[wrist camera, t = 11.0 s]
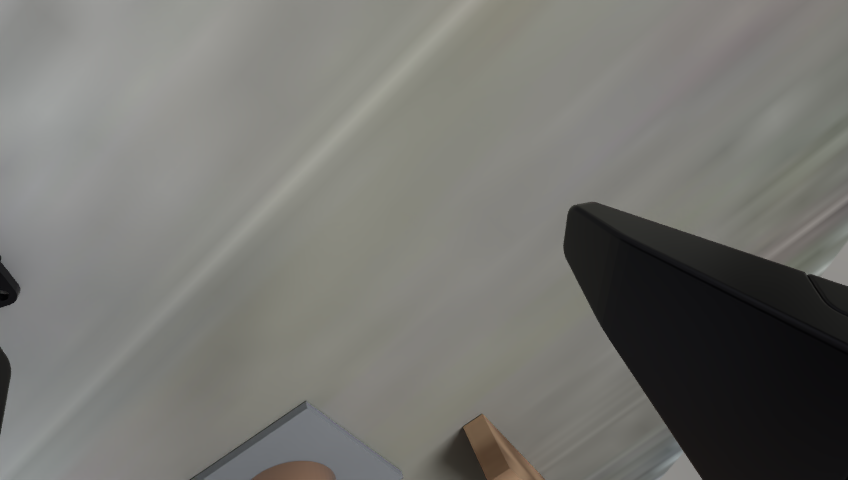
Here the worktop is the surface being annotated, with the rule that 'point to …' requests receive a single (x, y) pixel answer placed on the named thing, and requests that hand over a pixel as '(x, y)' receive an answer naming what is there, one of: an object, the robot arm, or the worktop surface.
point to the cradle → (497, 453)
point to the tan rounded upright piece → (297, 472)
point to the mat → (303, 450)
